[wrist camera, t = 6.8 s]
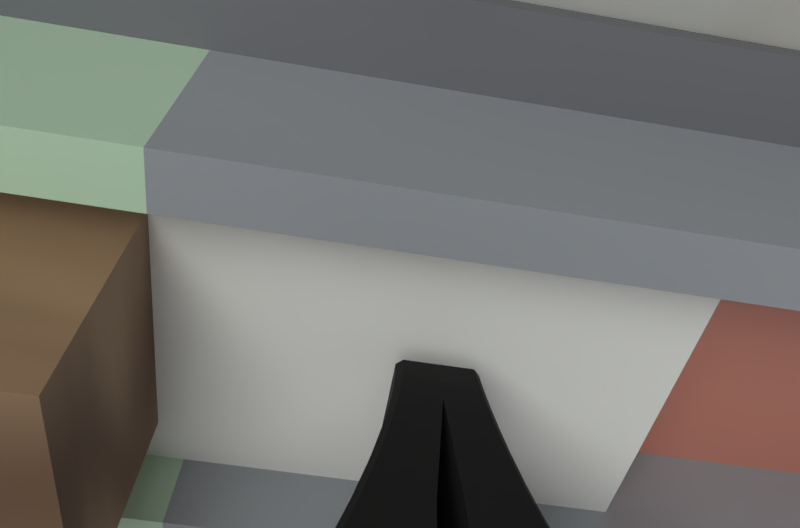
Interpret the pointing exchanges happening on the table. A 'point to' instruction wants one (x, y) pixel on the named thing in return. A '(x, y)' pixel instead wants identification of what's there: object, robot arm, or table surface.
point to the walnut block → (73, 361)
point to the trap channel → (436, 242)
